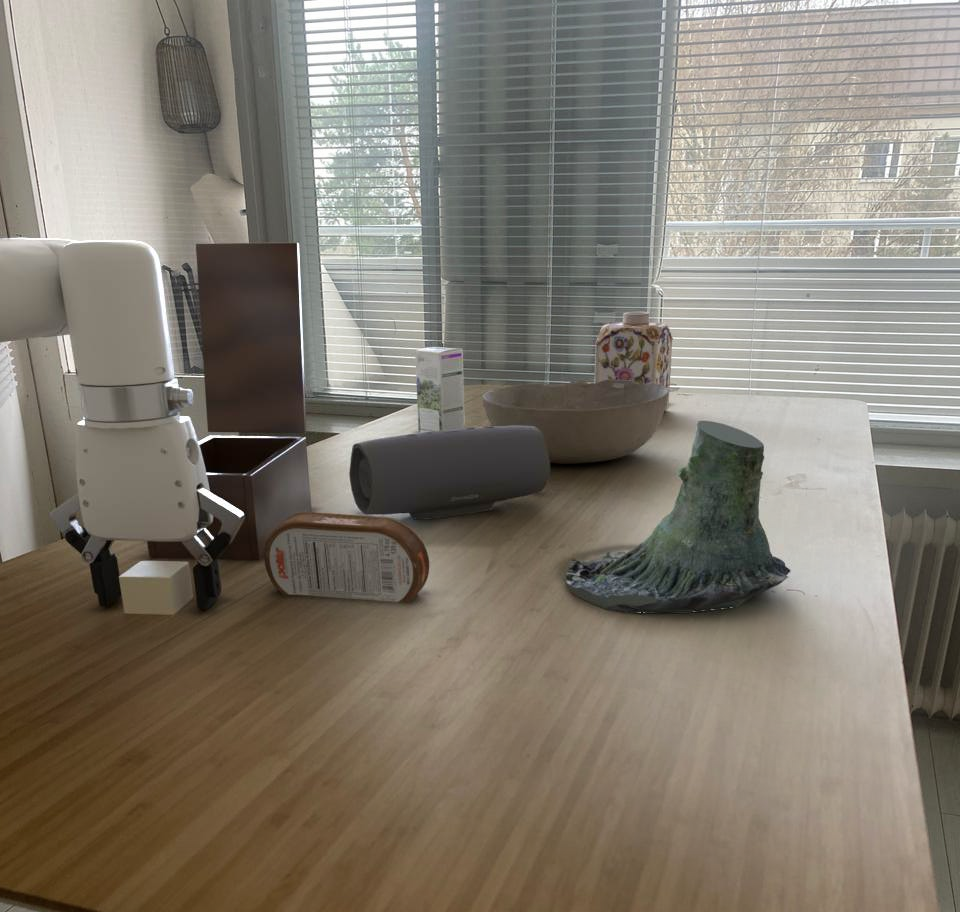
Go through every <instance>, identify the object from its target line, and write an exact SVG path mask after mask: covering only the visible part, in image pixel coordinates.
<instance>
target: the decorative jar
mask: <svg viewBox="0 0 960 912" xmlns="http://www.w3.org/2000/svg"><path fill="white" fill-rule="evenodd" d="M599 330H600V331H599V333H598V335H597V337H596V338H597V339H596V340H595V352H594V353H595V354H594V375H593V383H595V384H596V383H598V382H600V381H603V380H606V379H610V380H631V381H634V382H636V383H639V382H640V383H645V384H646V383H650V382H652V383H658V384H662V385H664V386H665V387H666V388H668V390H669V392H671V391H670V390H671V389H670V388H671V373H672V350H673V349H672V348H673V340H674V338H673V337H672V332H671V331H670V328H669V325H668V324H665V323H663V322H653V321H650V312H648V311H628V312H623V313H622V321H618V322H617V321H616V322H610V323H607V324H603V325H602V327H601V328H600V329H599ZM669 402H670V393H669V394H668V399H667V404H666V408H665V410H666V411H668V408H669Z"/></svg>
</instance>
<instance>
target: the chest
mask: <svg viewBox="0 0 960 912" xmlns="http://www.w3.org/2000/svg"><path fill="white" fill-rule="evenodd" d="M198 442H199V446H200V449H201V453H202V457H203V461H204V465H205V469H206V474H207V479H208V484H209V489H210V492H211V493H212V494H214V495H216V496H217V497H219V498H221V499H222V500H224V501H226V502H227V503H229V504H231V505H232V506H234V507H236V508H237V509H239V510H241V511H242V512H243V513H244V515H245V519H244V521H243V523H242V525H241V527H240V529H239V530H238V532H237V534H236V536H235V539H234V541H233V542H232V543H231V544H230V545H229V546H228V547H227V548H226V549H225V550H224V552H223V553H222V554H221V555H220V556H219V557H218V560H222V561H223V560H224V561H261V560H262V559H264V548H265V544H266V542H267V540H268V538H269V536H270V535H271V533H272V532H273V531H274V530H275V529H276V528H277V527H278V526H279V525H280V524H281V522H282V521H284V520H285V519H286V518H288V517H289V516H291V515H293V514H296V513H300V512H313V510H312V498H311V484H310V473H309V463H308V462H309V460H308V447H307V437H306V436H259V435H257V436H255V435H254V436H253V435H250V436H249V435H247V436H245V435H241V436H240V435H209V436H206V437H205V438H203V439H201V440H198ZM221 526H222V523H221V521H220V520H219V519H218V518H216V517H214V516H213V522H212V523H211V525H209V526H208V527H205V528H206V529H207V530H208V531H209V533H210V534H211V535H212V536H213V538H215V537H216V536H217V535H218V533H219V531H220V528H221ZM146 545H147V552H148V557H149V559H179V560H180V559H181V560H182V559H183V560H196V559H195V557H194V556H193V555H192V554H191V553H190V551H189V550H188V549H187V548H186V547H185V545H184V544H183V543H182V542H181V541H146Z"/></svg>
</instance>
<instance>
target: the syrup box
mask: <svg viewBox="0 0 960 912" xmlns="http://www.w3.org/2000/svg"><path fill="white" fill-rule="evenodd" d="M414 357H415V358H414V359H415V379H416V380H415V381H416V383H415V384H416V402H417V403H416V405H417V425H418V426H417V427H418V428H417V430H418V433H424V432H432V431H440V430H446V429H464V428H466V427H465V402H464V401H465V392H464V391H465V389H464V351H463V348H455V347H442V346H427V347H421V348H419V349H414Z"/></svg>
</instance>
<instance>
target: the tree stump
mask: <svg viewBox="0 0 960 912" xmlns="http://www.w3.org/2000/svg"><path fill="white" fill-rule="evenodd" d="M696 424H697V425H696V430H695V436H694V440H693V442H692V446H691V453H690V456H689V459H688V462H687V466H685V467H682V468H681V469H679V470H678V473H677V475H678V477H679V478H680V480H681V485H680V487H679V491H678V494H677V496H676V499H675V504H674V507H673V509H672V510H671V511H670V513H668V514H666V515H665V516H664V517H663V518H662V519H661V520H660V522H659V523H658V524H657V526H656V527H655V528H654V530H653V531H652V532H651V535H649V536H648V537H647V538H646V539H644V540H643V541H642V542H641V543H639V544H638V545H636V546H635V547H634V548H633V549H631V550H628V551H627V552H626V551H618V552H614V553H610V552H609V551H607V552H606V553H605V555H601V556H600V557H597V558H593V559H589V560H586V561H585V560H583V561H579V560H577V558H573V557H572V558H571V562H570V563H569V566H568V571H566V573H565V585H566V587H567V589H568V591H569V592H570V593H572V594H573V595H575V596H576V597H577V598H579V599H582V600H584V601H586V602H589V603H591V604H593V605H596V606H598V607H600V608H603V609H605V610H610V611H616V610H617V612H623V611H625V612H624V613H630V612H634V613H633V614H636V613H635V612H641V613H640V614H644V613H643V612H693V611H702V610H711V609H721V608H730V607H736V608H737V607H739V606H740V605H742V604H743V603H744V602H746V601H748V600H749V599H750V598H752V597H754V596H757V595H759V594H762V593H763V592H766V591H768V590H770V589H772V588H775V587H777V586H779V585H780V584H781V583H783V582H785V580H786V579H788V578H789V576H788V574H790V573H791V571H792V569H790V568H789V567H787V566H786V563H785V561H783V560H782V559H780V558H779V557H777V556H775V555H774V556H773V554H772V552H771V548H770V547H771V546H770V543H769V539H768V537H767V533H766V531H765V529H764V527H763V525H762V523H761V520H760V509H759V508H760V507H759V505H760V495H761V494H760V491H761V480H762V478H763V475H764V472H763V471H762V467H763V463H764V461H765V454H764V452H765V448H764V447H765V444H764V443H763V442H762V441H761V440H760V439H758V438H757V437H755V436H754V435H752V434H750V433H748V432H746V431H744V430H741V429H739V428H736V427H733V426H731V425H728V424H726V423H725V424H724V423H720V422H716V421H710V420H698V421H697V423H696ZM730 609H731V608H730ZM618 610H619V611H618ZM721 610H722V609H721ZM626 611H627V612H626ZM702 612H703V611H702ZM693 613H694V612H693Z"/></svg>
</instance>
